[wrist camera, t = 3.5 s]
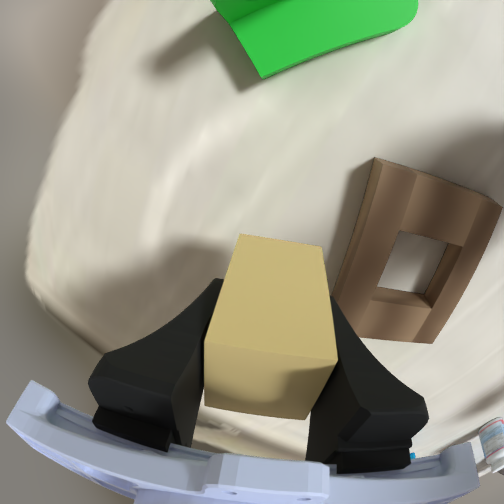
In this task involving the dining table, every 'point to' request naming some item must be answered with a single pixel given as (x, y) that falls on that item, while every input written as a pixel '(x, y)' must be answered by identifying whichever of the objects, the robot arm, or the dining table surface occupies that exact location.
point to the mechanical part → (308, 27)
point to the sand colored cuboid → (270, 331)
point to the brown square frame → (421, 223)
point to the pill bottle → (493, 443)
